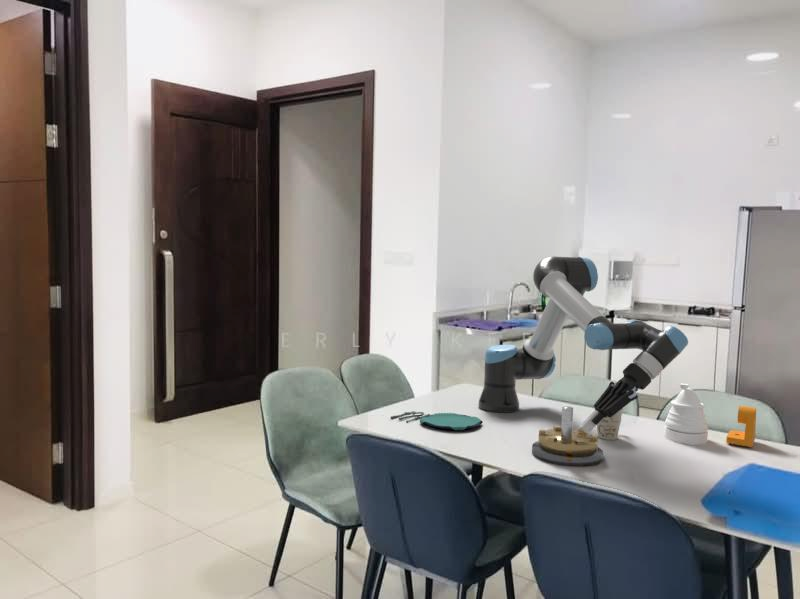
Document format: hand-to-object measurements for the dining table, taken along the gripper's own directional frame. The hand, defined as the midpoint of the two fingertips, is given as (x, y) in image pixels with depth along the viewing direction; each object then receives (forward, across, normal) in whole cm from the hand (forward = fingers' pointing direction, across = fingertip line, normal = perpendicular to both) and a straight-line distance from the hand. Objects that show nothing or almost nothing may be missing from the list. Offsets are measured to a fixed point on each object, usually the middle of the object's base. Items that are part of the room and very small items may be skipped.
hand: (583, 430), depth 187 cm
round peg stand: (+6, +6, -3) cm, 9 cm away
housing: (+8, +6, -5) cm, 11 cm away
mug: (-8, +26, -22) cm, 35 cm away
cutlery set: (+29, +45, +15) cm, 56 cm away
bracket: (-36, +16, -50) cm, 63 cm away
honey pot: (-25, +21, -38) cm, 51 cm away
